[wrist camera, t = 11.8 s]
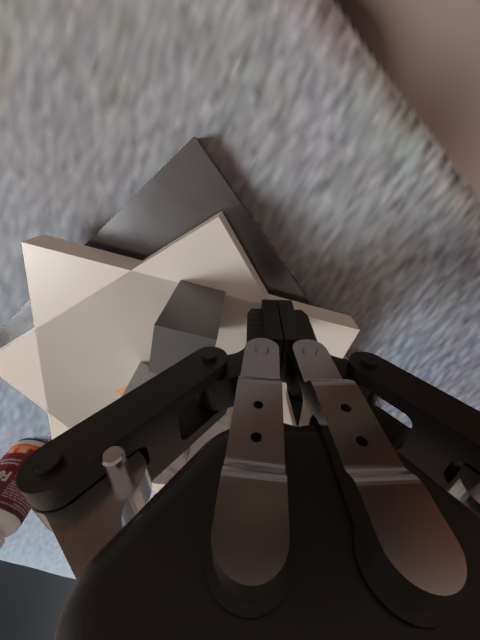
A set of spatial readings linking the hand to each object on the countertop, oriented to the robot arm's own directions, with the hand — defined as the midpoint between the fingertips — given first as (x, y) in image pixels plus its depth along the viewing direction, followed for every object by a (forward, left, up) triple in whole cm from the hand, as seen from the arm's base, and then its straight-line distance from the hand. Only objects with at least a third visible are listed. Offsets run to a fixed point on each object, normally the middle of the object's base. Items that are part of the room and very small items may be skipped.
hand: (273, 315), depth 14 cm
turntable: (-2, +9, -2) cm, 10 cm away
